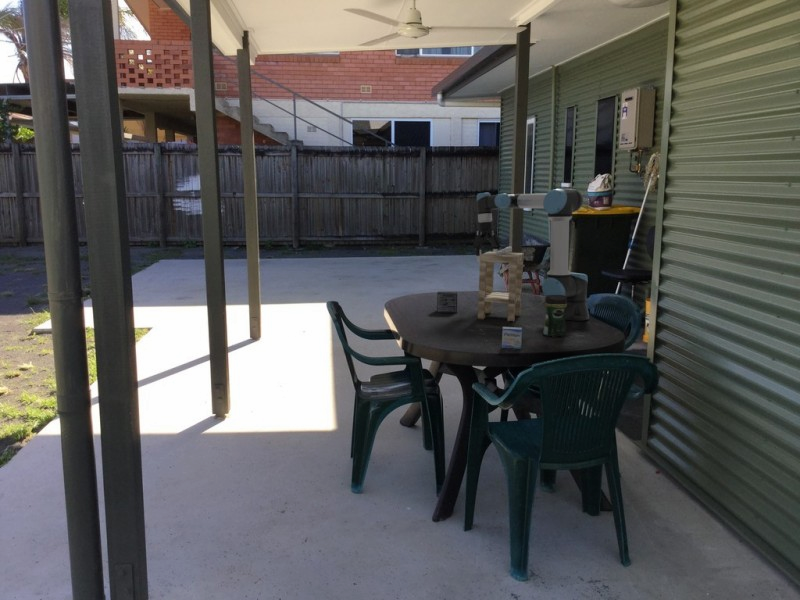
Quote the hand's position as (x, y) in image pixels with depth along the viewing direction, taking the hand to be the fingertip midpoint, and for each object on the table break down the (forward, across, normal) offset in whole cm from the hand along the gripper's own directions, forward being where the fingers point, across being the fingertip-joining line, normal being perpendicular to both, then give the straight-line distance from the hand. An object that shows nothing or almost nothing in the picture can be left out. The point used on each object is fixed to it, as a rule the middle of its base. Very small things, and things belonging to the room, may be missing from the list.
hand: (487, 261), depth 358 cm
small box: (+25, +25, -9) cm, 36 cm away
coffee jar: (+36, +25, +57) cm, 72 cm away
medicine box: (+38, +58, +59) cm, 91 cm away
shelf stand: (+29, +13, +17) cm, 36 cm away
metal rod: (-4, +10, +20) cm, 22 cm away
